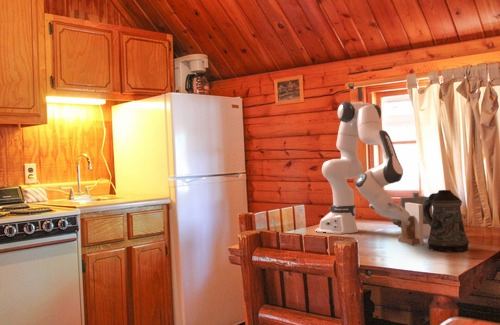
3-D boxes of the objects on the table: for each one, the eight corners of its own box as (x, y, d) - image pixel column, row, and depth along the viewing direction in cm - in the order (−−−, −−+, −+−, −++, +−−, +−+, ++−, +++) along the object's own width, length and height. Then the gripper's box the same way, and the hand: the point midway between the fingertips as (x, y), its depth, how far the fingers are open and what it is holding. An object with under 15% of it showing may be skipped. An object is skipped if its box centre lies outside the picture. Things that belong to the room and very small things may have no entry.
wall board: (398, 241, 233) (397, 203, 233) (409, 240, 235) (408, 202, 235) (412, 245, 223) (411, 205, 223) (423, 244, 225) (422, 204, 225)
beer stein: (465, 254, 202) (464, 192, 202) (416, 250, 212) (415, 191, 212) (471, 246, 216) (470, 189, 216) (425, 243, 226) (424, 188, 226)
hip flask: (401, 231, 263) (400, 193, 262) (400, 229, 267) (399, 192, 266) (433, 230, 261) (432, 192, 260) (431, 229, 265) (430, 191, 264)
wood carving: (468, 237, 239) (467, 214, 239) (392, 236, 248) (391, 214, 247) (465, 234, 248) (464, 211, 247) (392, 233, 256) (391, 211, 256)
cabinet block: (406, 238, 226) (406, 214, 226) (400, 237, 230) (400, 213, 230) (414, 238, 227) (414, 214, 227) (408, 236, 232) (408, 213, 231)
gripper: (400, 199, 215) (420, 220, 218) (374, 195, 235) (393, 215, 238) (392, 210, 214) (412, 231, 217) (366, 205, 233) (385, 225, 237)
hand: (402, 222), depth 228 cm, fingers open, 8 cm apart
